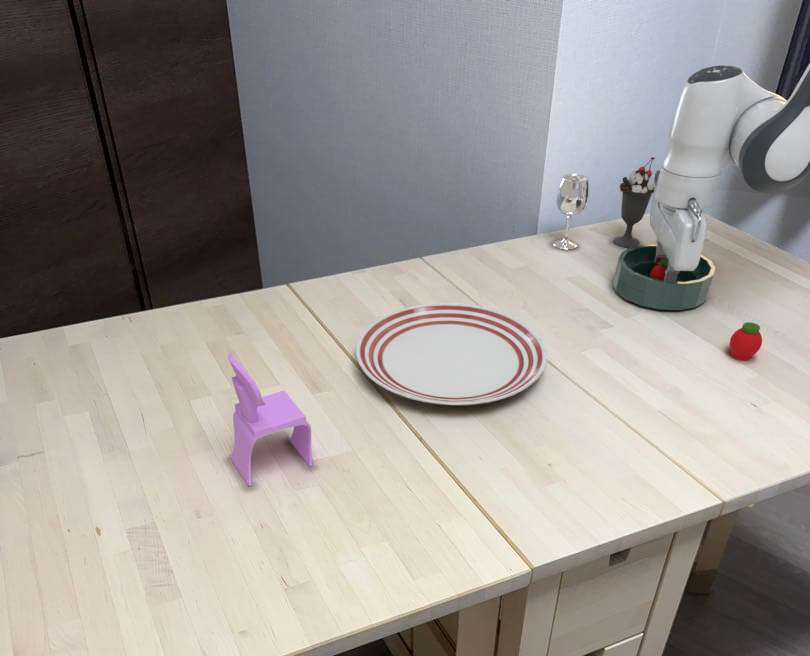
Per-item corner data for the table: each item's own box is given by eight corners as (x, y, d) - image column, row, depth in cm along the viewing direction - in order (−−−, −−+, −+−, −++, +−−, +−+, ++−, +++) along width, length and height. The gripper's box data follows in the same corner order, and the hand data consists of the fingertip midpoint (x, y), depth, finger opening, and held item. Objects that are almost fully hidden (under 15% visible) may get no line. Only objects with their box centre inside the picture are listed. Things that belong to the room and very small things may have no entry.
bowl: (694, 273, 133) (702, 245, 130) (716, 314, 122) (726, 285, 118) (606, 270, 133) (612, 243, 130) (621, 311, 122) (627, 282, 119)
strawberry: (670, 281, 129) (678, 255, 125) (675, 295, 126) (683, 269, 122) (645, 280, 129) (652, 254, 125) (649, 294, 126) (656, 268, 122)
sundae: (648, 240, 144) (668, 156, 133) (637, 252, 140) (657, 166, 129) (615, 233, 146) (632, 150, 136) (604, 244, 142) (620, 160, 132)
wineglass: (566, 253, 139) (577, 185, 130) (543, 243, 142) (552, 177, 134) (586, 245, 141) (598, 179, 133) (563, 236, 145) (574, 170, 136)
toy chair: (319, 469, 91) (310, 360, 81) (252, 491, 88) (233, 381, 78) (292, 434, 96) (280, 328, 86) (227, 454, 93) (207, 346, 83)
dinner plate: (557, 420, 99) (561, 399, 97) (352, 419, 99) (351, 398, 97) (531, 322, 119) (533, 303, 117) (360, 321, 119) (359, 301, 116)
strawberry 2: (751, 348, 114) (762, 319, 111) (760, 363, 111) (771, 333, 107) (722, 347, 114) (732, 318, 111) (730, 362, 111) (740, 332, 107)
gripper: (724, 213, 108) (697, 302, 118) (691, 167, 123) (669, 250, 133) (681, 212, 109) (657, 301, 118) (653, 166, 123) (634, 249, 133)
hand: (664, 274), depth 126 cm, fingers open, 5 cm apart
